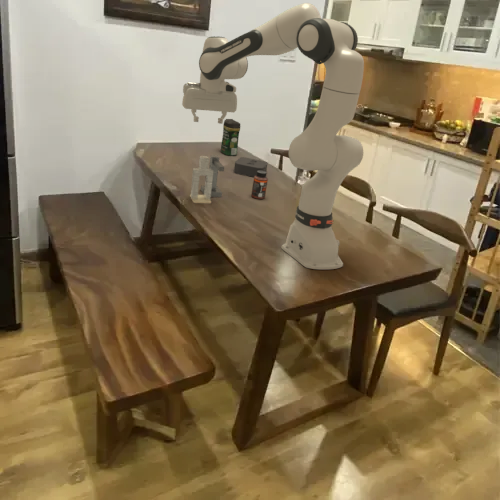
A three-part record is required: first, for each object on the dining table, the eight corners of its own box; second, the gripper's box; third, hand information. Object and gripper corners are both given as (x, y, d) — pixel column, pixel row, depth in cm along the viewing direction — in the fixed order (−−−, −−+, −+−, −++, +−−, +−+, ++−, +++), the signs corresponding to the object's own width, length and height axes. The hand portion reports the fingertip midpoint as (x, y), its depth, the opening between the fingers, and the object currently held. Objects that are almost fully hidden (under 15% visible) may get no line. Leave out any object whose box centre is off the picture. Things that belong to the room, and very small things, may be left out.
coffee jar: (218, 151, 270) (221, 117, 262) (230, 151, 274) (234, 117, 266) (226, 156, 263) (230, 121, 255) (239, 156, 267) (243, 122, 259)
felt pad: (211, 203, 194) (211, 201, 194) (193, 203, 192) (194, 201, 192) (206, 196, 201) (206, 194, 201) (189, 196, 198) (189, 194, 198)
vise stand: (226, 203, 197) (231, 164, 190) (209, 202, 194) (213, 164, 188) (216, 190, 209) (220, 154, 203) (200, 190, 207) (204, 153, 200)
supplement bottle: (263, 200, 206) (267, 174, 201) (249, 197, 207) (253, 172, 202) (266, 196, 211) (270, 171, 206) (252, 193, 212) (256, 168, 207)
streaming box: (261, 179, 234) (262, 168, 232) (232, 173, 236) (233, 163, 234) (267, 171, 247) (268, 162, 245) (239, 166, 249) (241, 156, 247)
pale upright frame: (210, 199, 196) (214, 158, 189) (192, 199, 194) (196, 157, 186) (208, 197, 199) (212, 156, 191) (190, 196, 196) (194, 155, 189)
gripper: (185, 82, 171) (182, 122, 177) (240, 88, 178) (235, 126, 184) (181, 80, 176) (179, 118, 182) (235, 85, 184) (231, 122, 189)
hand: (208, 122), depth 183 cm, fingers open, 8 cm apart
